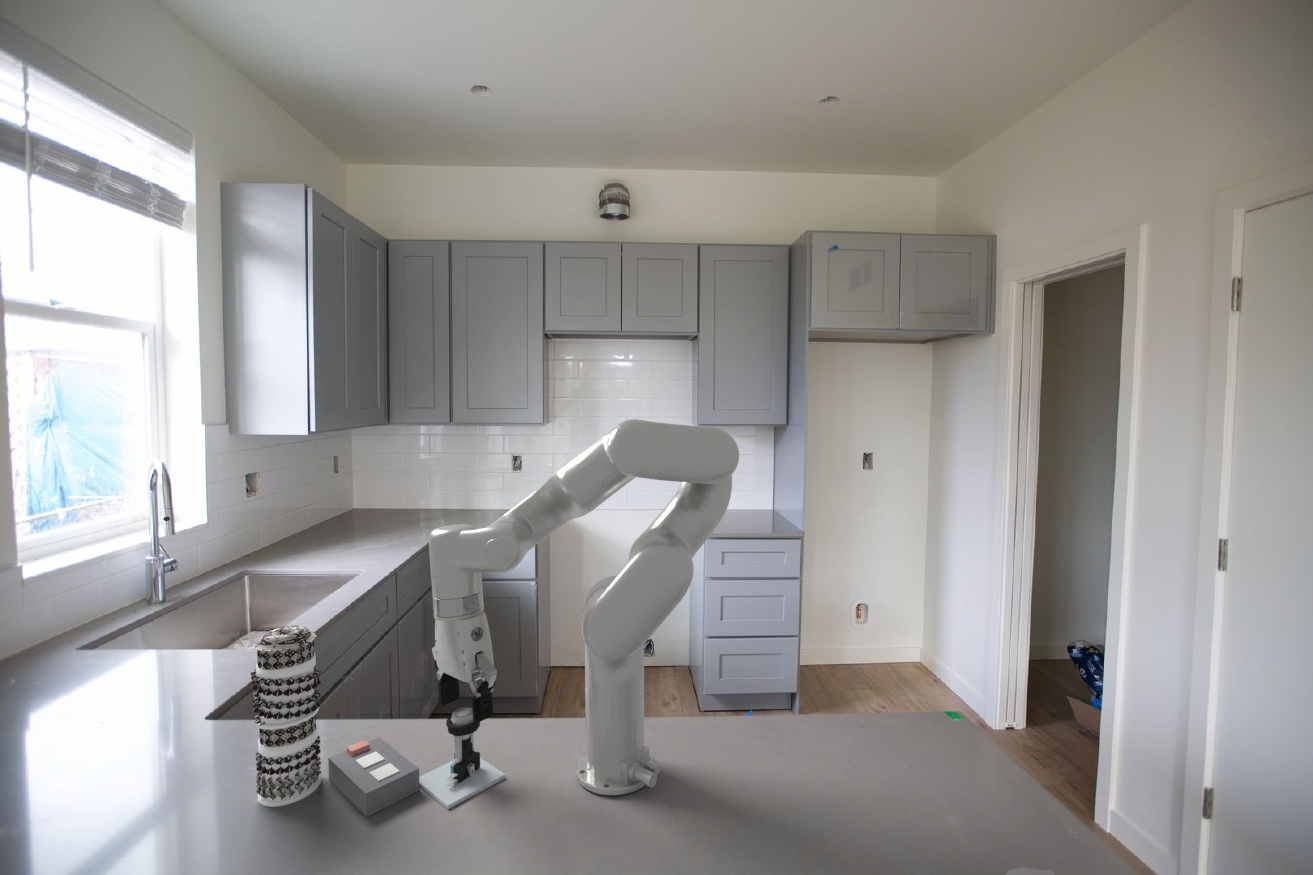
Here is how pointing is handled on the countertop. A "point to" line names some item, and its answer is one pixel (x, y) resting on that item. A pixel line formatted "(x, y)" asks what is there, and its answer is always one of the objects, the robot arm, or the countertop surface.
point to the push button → (463, 745)
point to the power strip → (373, 775)
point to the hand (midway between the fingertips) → (466, 709)
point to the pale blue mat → (458, 792)
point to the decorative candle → (286, 716)
